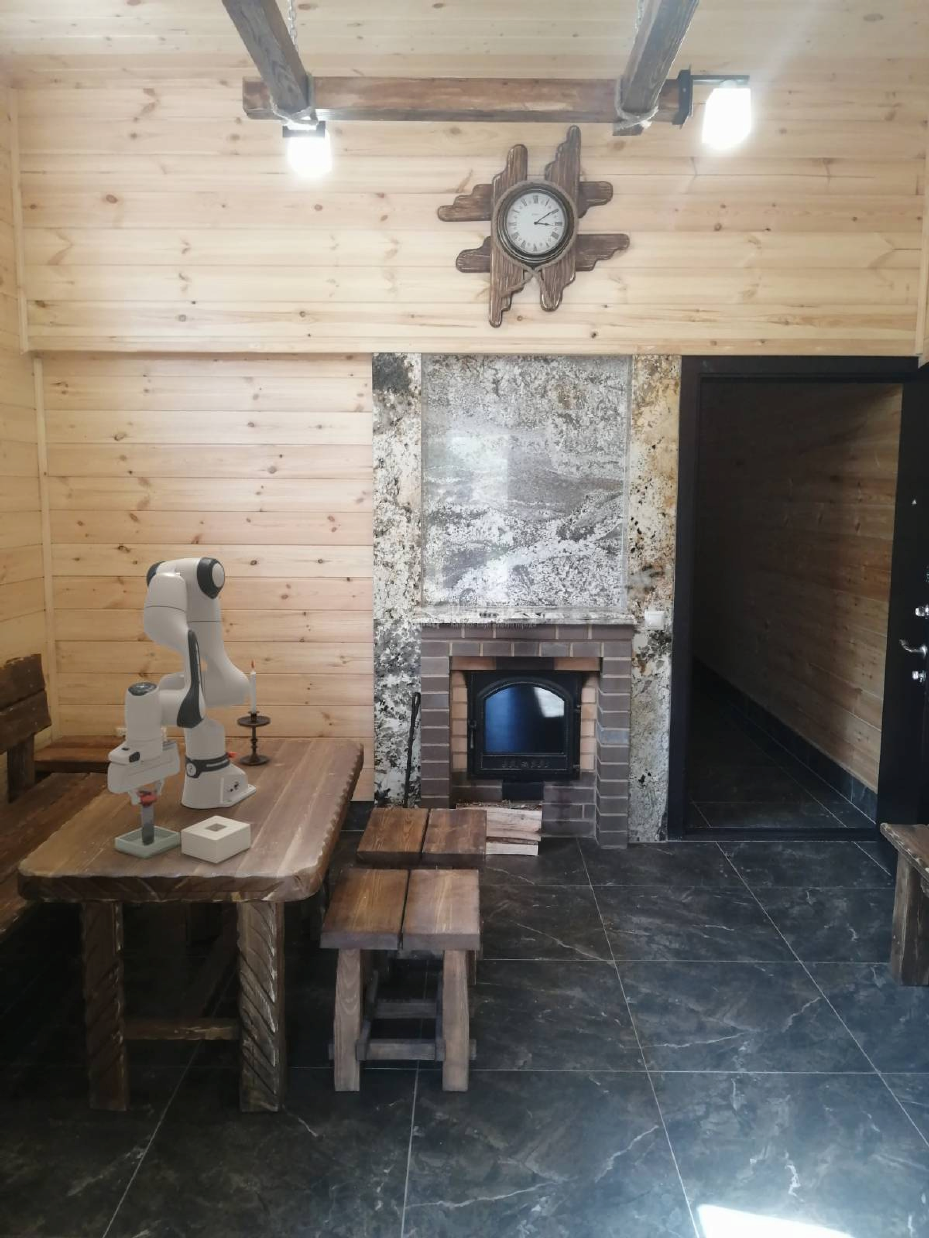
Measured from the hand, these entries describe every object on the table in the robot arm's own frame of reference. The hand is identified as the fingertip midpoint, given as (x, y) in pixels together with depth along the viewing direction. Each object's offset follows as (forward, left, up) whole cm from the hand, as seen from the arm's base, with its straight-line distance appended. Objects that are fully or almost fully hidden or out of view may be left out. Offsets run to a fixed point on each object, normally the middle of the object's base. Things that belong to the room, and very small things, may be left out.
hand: (146, 799), depth 226 cm
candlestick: (-67, -26, -13) cm, 73 cm away
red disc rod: (0, 0, -11) cm, 11 cm away
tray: (0, 0, -13) cm, 13 cm away
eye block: (-8, +16, -13) cm, 22 cm away
